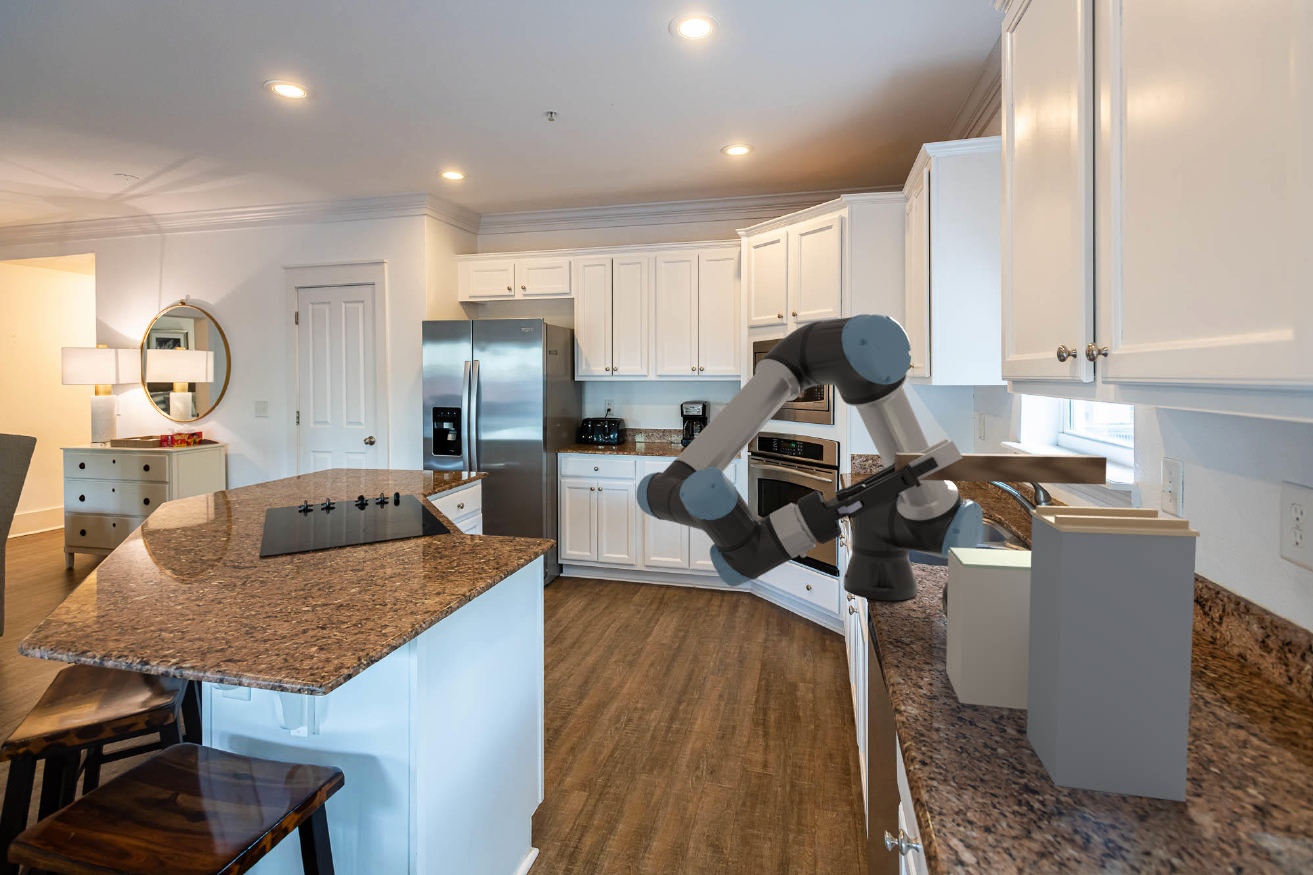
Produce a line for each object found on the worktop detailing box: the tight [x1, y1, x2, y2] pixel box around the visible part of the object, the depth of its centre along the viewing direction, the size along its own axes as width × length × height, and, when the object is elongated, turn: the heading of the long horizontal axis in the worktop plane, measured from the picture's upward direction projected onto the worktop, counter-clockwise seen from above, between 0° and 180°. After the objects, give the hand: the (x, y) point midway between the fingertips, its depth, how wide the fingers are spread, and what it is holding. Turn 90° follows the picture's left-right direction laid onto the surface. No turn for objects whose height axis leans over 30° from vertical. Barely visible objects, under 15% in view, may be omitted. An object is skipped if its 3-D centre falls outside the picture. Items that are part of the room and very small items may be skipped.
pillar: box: [1026, 505, 1201, 803], centre depth 71 cm, size 12×10×29 cm
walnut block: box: [895, 452, 1108, 485], centre depth 89 cm, size 26×4×4 cm, turn 75°
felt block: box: [945, 548, 1031, 711], centre depth 89 cm, size 20×10×20 cm, turn 75°
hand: (953, 448), depth 90 cm, fingers closed on walnut block, 4 cm apart
